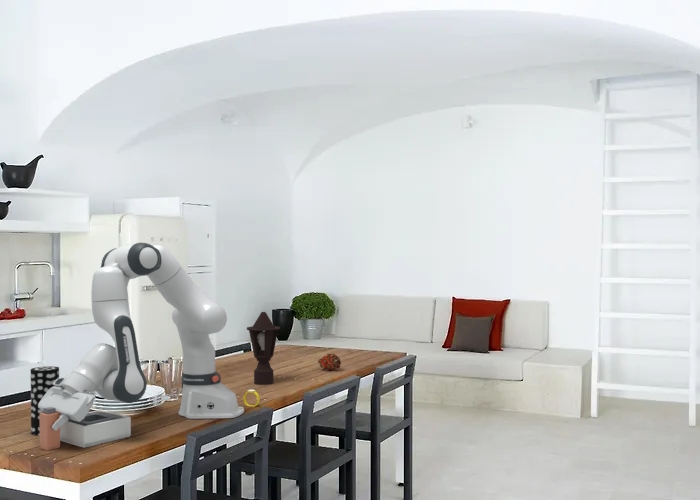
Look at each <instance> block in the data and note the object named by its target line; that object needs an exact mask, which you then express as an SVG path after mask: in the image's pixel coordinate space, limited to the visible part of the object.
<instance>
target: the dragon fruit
mask: <svg viewBox="0 0 700 500" xmlns="http://www.w3.org/2000/svg"><path fill="white" fill-rule="evenodd" d="M317 363H318V364H319V367H320V368H321V369H323V370H325V371H326V372H328V371H331V372H333V371H336V369H340V368H341V365H342V362H341V358H340V357H339V356H338V355H337V354H335V353H333V352H332V353H326V355H323V356H322V358H319V359H318V361H317Z"/></svg>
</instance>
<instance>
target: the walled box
mask: <svg viewBox="0 0 700 500" xmlns="http://www.w3.org/2000/svg"><path fill="white" fill-rule="evenodd" d="M131 421H132V419H131V416H128V415H123V414H119V413H116V412H111V411H106V410H103V409H98V410H92V411H89V412H88V413H87V415H86V416H85V418H84V419H83V420H81V421H80V422H78V421H74V420H71V419H68V420H67V422H66V423H64V424H63V425H61V426H60V442H64V443H67V444H70V445H74V446H76V447H77V446H78V447H80V448H83V449H85V448H89V447H93V446H98V445H102V444H105V443H109V442H113V441H118V440H122V439H126V437H127V438H131V437H130V436H132V433H131V432H132V431H131V430H132V429H131V427H132V426H131ZM101 443H102V444H101Z"/></svg>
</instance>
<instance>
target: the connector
mask: <svg viewBox="0 0 700 500" xmlns="http://www.w3.org/2000/svg"><path fill="white" fill-rule="evenodd" d="M59 418H60V413H57V412H56V408H54V407H48V408H44V413H40V435H39V449H41V450H42V449H43V450H44V451H51V450H55V449H58V448H61V441H60V427H59V428H58V430H56V431H55V430H52V429H51V428H50V426H51V425H52V423H53V422H56V421H57V420H58V419H59Z"/></svg>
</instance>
